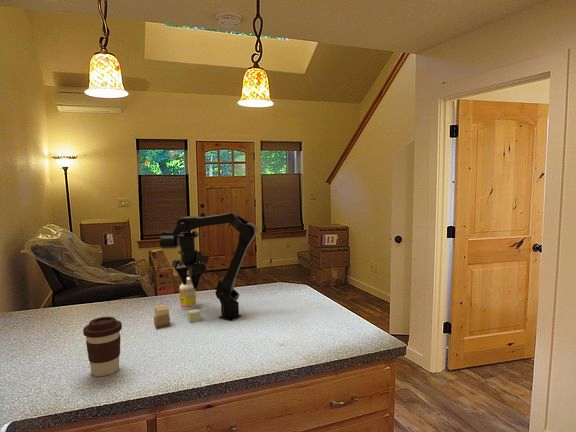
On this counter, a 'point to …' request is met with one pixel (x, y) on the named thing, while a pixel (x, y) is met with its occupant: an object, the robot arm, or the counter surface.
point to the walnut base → (161, 323)
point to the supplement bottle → (187, 295)
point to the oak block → (161, 312)
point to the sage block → (193, 315)
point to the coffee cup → (103, 345)
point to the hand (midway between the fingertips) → (190, 286)
